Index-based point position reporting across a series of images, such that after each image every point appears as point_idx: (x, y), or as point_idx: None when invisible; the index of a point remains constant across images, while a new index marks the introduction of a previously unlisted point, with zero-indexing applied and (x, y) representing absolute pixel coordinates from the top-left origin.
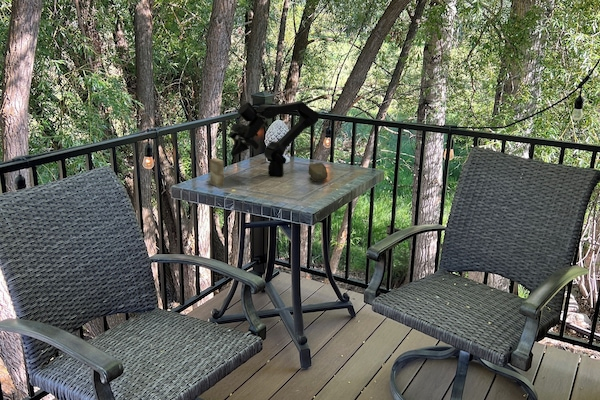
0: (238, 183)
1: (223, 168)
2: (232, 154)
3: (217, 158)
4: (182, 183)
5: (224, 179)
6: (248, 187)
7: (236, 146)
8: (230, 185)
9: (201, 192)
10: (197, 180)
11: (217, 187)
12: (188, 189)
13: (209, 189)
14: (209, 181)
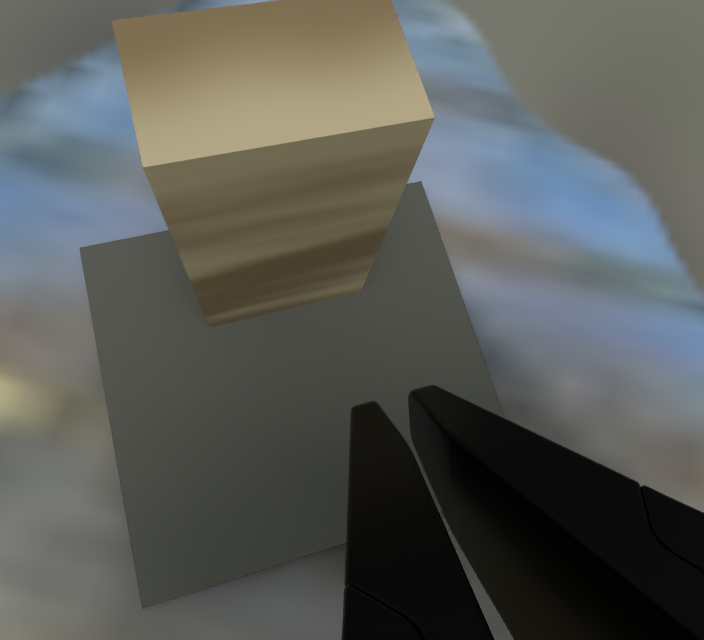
0: (220, 514)
1: (175, 241)
2: (353, 421)
3: (405, 117)
4: (435, 6)
5: (448, 386)
6: (24, 616)
7: (481, 631)
8: (166, 394)
9: (69, 74)
10: (505, 137)
11: (144, 239)
12: (222, 4)
13: None
14: (408, 217)
